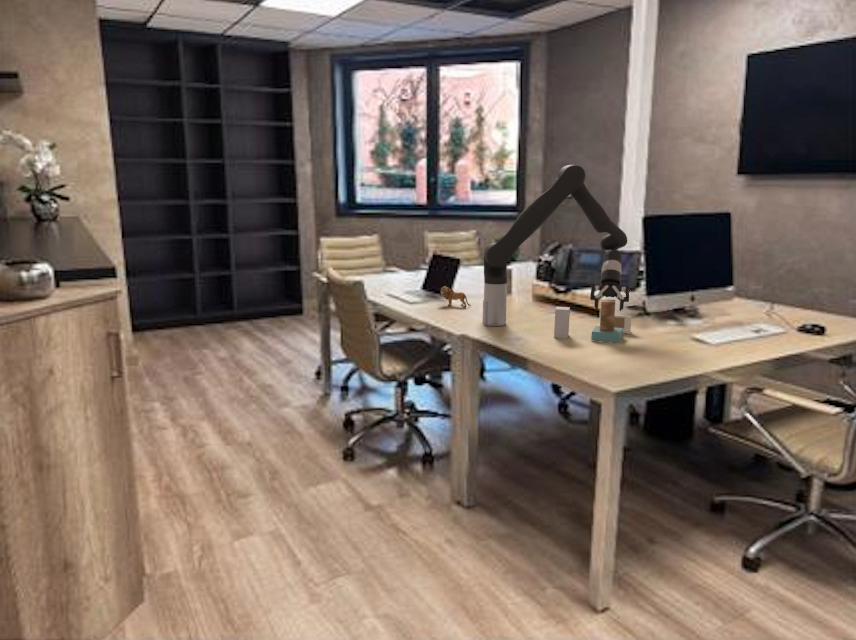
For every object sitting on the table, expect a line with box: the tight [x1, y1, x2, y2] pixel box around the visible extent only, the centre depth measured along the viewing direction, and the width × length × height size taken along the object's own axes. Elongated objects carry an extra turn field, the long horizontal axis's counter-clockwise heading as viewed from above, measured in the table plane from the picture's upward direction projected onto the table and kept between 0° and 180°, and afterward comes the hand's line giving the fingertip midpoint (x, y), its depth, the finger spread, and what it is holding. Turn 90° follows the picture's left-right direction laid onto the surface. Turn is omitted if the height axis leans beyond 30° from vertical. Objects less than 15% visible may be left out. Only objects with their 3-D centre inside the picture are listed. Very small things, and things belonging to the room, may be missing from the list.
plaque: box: [614, 314, 632, 335], centre depth 252 cm, size 9×4×7 cm, turn 74°
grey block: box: [553, 306, 571, 339], centre depth 244 cm, size 5×5×11 cm
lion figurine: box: [440, 285, 472, 308], centre depth 301 cm, size 15×5×9 cm, turn 72°
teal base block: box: [590, 325, 624, 344], centre depth 241 cm, size 10×10×4 cm
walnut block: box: [599, 298, 616, 332], centre depth 240 cm, size 5×5×11 cm
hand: (608, 309), depth 243 cm, fingers open, 8 cm apart
